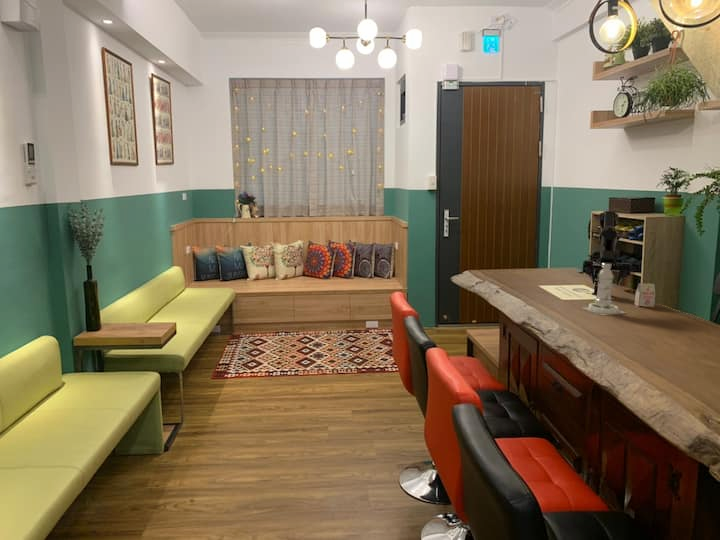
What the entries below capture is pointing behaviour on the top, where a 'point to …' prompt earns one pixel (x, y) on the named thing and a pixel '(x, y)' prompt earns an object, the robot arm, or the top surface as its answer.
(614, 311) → the bottle holder
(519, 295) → the top surface
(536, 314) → the top surface
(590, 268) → the robot arm
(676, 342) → the top surface
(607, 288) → the plastic bottle
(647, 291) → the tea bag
